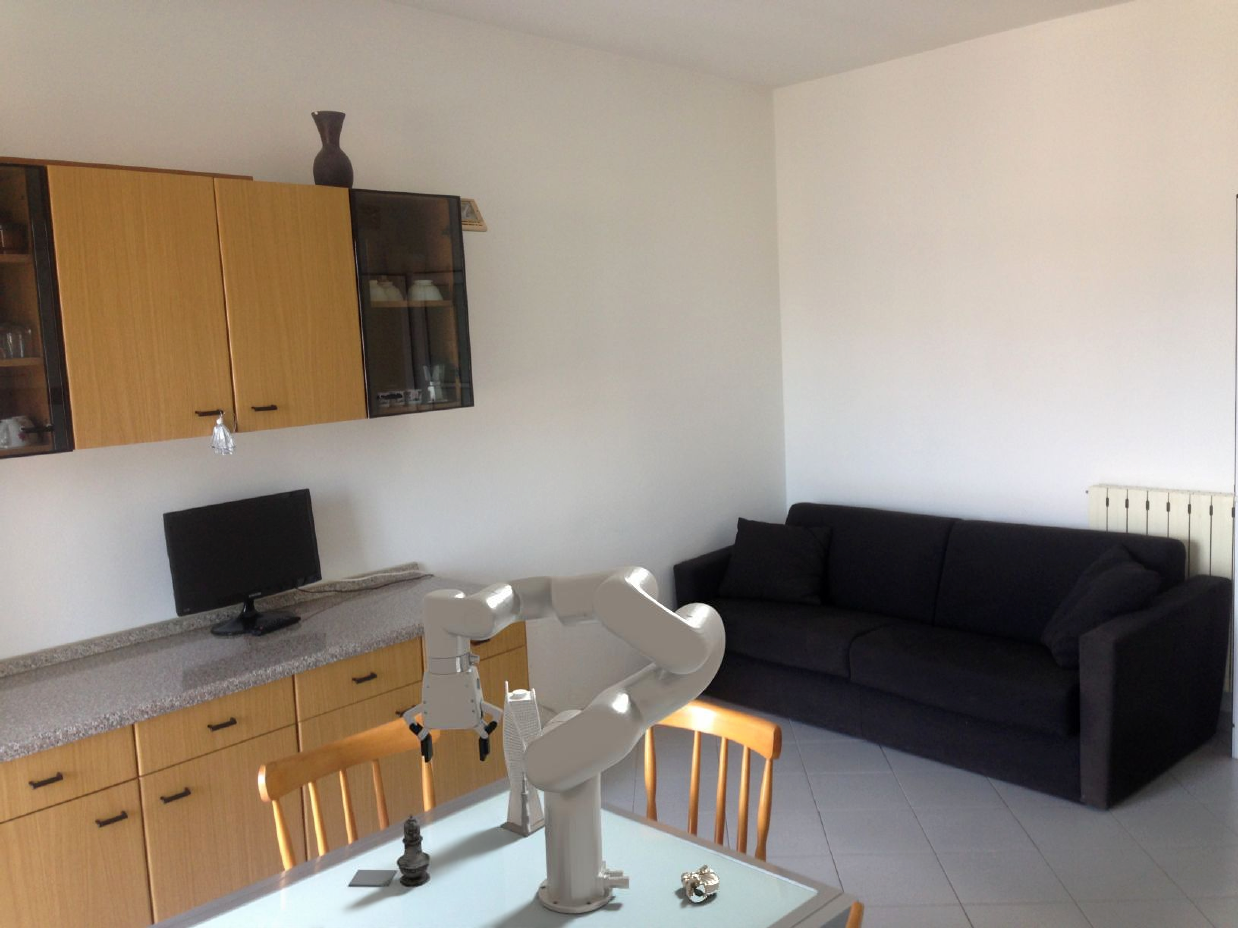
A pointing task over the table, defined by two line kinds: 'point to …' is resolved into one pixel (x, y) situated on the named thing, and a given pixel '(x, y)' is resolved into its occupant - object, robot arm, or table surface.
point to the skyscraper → (521, 761)
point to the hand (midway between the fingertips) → (456, 758)
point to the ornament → (700, 881)
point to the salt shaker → (413, 856)
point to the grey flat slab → (373, 878)
